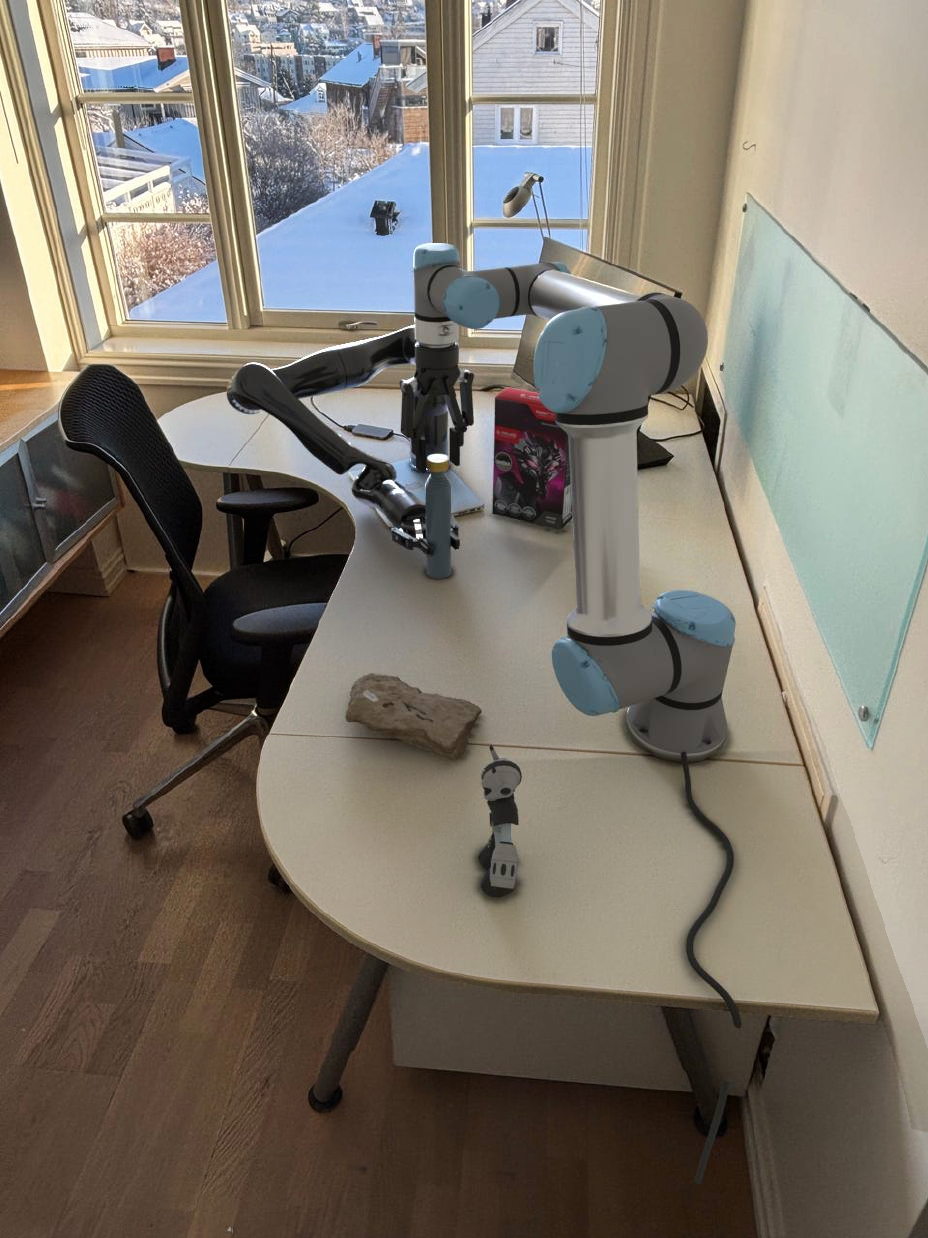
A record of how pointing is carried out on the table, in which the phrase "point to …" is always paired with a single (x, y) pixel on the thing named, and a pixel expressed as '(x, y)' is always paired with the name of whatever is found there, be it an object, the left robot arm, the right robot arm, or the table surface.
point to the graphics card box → (530, 461)
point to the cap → (437, 462)
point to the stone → (412, 714)
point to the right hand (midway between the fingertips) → (438, 466)
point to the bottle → (438, 524)
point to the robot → (500, 825)
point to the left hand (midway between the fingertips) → (445, 548)
